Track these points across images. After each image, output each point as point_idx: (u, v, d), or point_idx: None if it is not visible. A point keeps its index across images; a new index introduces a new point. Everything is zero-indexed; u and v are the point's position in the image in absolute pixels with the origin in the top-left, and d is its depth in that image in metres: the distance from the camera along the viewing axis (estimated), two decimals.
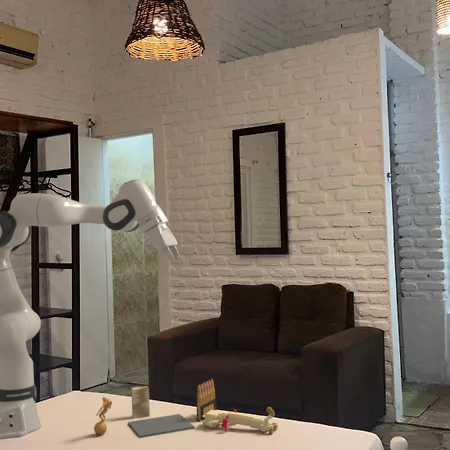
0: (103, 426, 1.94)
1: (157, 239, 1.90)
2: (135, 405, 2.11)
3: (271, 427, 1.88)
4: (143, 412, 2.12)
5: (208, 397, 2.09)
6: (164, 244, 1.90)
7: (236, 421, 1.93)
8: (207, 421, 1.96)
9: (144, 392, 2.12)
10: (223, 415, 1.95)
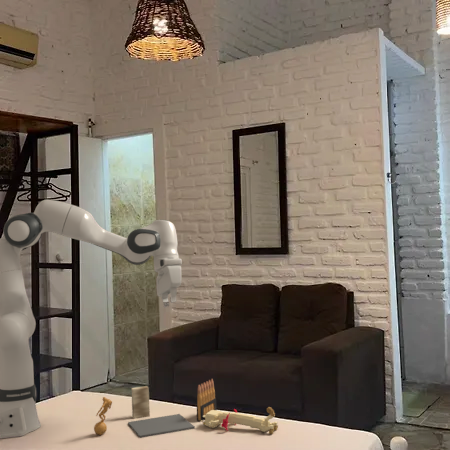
0: (103, 426, 1.94)
1: (176, 276, 2.03)
2: (135, 405, 2.11)
3: (271, 427, 1.88)
4: (143, 412, 2.12)
5: (208, 397, 2.09)
6: (180, 283, 2.03)
7: (236, 421, 1.93)
8: (207, 421, 1.96)
9: (144, 392, 2.12)
10: (223, 415, 1.95)
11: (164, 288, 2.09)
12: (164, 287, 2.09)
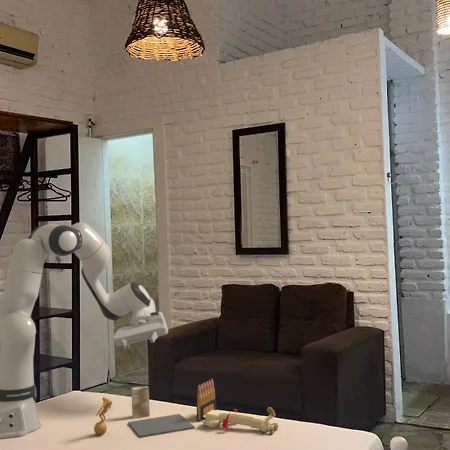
0: (103, 426, 1.94)
1: (166, 326, 2.26)
2: (135, 405, 2.11)
3: (272, 427, 1.88)
4: (143, 412, 2.12)
5: (208, 397, 2.09)
6: (167, 332, 2.24)
7: (237, 421, 1.93)
8: (208, 421, 1.96)
9: (144, 392, 2.12)
10: (224, 415, 1.95)
11: (142, 331, 2.24)
12: (142, 330, 2.24)
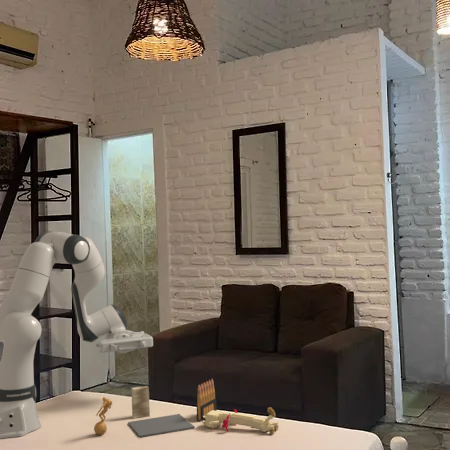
0: (103, 426, 1.94)
1: None
2: (135, 405, 2.11)
3: (272, 427, 1.88)
4: (143, 412, 2.12)
5: (208, 397, 2.09)
6: (152, 345, 2.33)
7: (237, 421, 1.93)
8: (208, 421, 1.96)
9: (144, 392, 2.12)
10: (224, 415, 1.95)
11: (130, 339, 2.30)
12: (130, 339, 2.30)
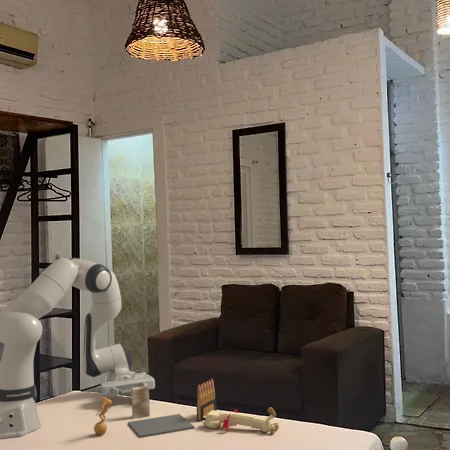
0: (103, 426, 1.94)
1: None
2: (135, 405, 2.11)
3: (272, 427, 1.88)
4: (143, 412, 2.12)
5: (208, 397, 2.09)
6: (154, 387, 2.33)
7: (237, 421, 1.93)
8: (208, 422, 1.96)
9: (144, 392, 2.12)
10: (224, 415, 1.95)
11: (132, 382, 2.30)
12: (132, 381, 2.30)
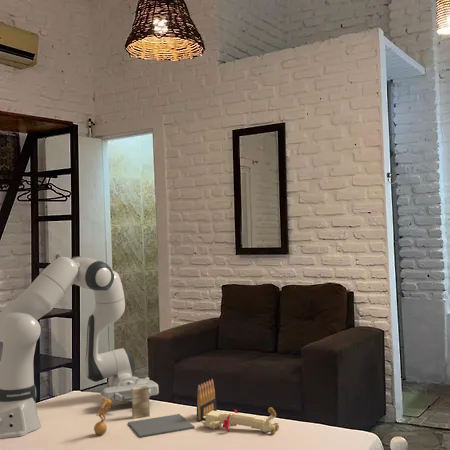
0: (103, 426, 1.94)
1: None
2: (135, 405, 2.11)
3: (273, 427, 1.88)
4: (143, 412, 2.12)
5: (208, 397, 2.09)
6: None
7: (237, 422, 1.93)
8: (208, 422, 1.95)
9: (144, 392, 2.12)
10: (224, 416, 1.95)
11: None
12: None
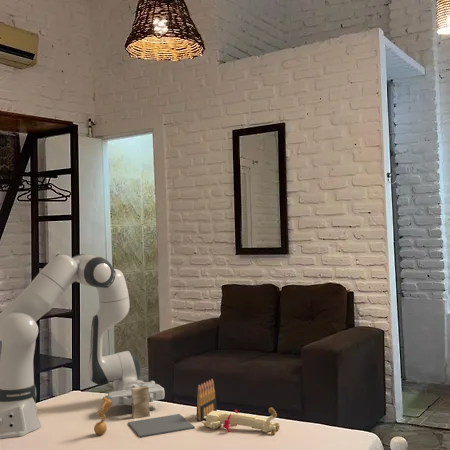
0: (103, 426, 1.94)
1: None
2: (135, 405, 2.11)
3: (273, 427, 1.87)
4: (143, 412, 2.12)
5: (208, 397, 2.09)
6: None
7: (238, 422, 1.93)
8: (208, 422, 1.95)
9: (144, 392, 2.12)
10: (224, 416, 1.95)
11: None
12: None
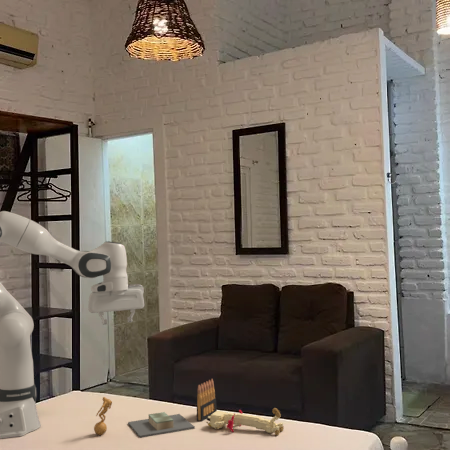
0: (103, 426, 1.94)
1: (89, 304, 2.21)
2: None
3: (277, 428, 1.87)
4: None
5: (208, 397, 2.09)
6: (90, 311, 2.20)
7: (242, 422, 1.92)
8: (212, 422, 1.95)
9: None
10: (229, 416, 1.94)
11: None
12: None
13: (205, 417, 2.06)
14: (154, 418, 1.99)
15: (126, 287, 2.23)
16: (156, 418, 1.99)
